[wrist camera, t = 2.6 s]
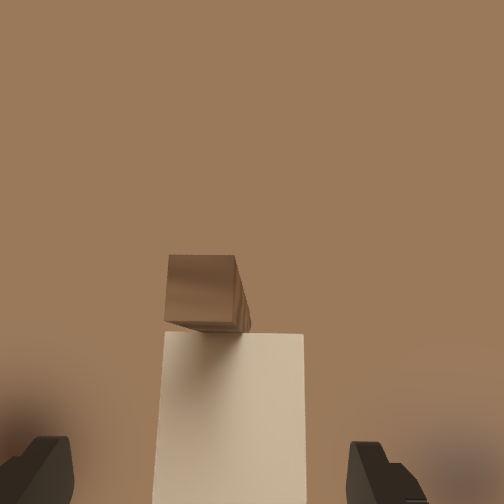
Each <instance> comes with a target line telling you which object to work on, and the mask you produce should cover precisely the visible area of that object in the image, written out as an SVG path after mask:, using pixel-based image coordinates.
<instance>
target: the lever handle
mask: <svg viewBox="0 0 504 504" xmlns="http://www.w3.org/2000/svg"><path fill="white" fill-rule="evenodd" d="M164 321H166V322H169V323H173V324H176V325H179V326H183V327H186V328H189V329H192V330H196V331H199V332H211V333H249V331H250V328H251V319H250V311H249V308H248V304H247V300H246V297H245V293H244V290H243V286H242V282H241V278H240V275H239V271H238V268H237V264H236V260H235V257H234V256H233V255H169V263H168V276H167V288H166V301H165V314H164Z"/></svg>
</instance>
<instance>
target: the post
mask: <svg viewBox="0 0 504 504" xmlns="http://www.w3.org/2000/svg"><path fill="white" fill-rule="evenodd" d="M304 392H305V390H304V339H303V334H266V333H211V332H165V342H164V355H163V367H162V380H161V393H160V406H159V420H158V433H157V445H156V459H155V471H154V484H153V497H152V504H307V501H306V500H307V496H306V447H305V445H306V443H305V393H304Z"/></svg>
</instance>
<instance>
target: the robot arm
mask: <svg viewBox="0 0 504 504" xmlns="http://www.w3.org/2000/svg"><path fill="white" fill-rule="evenodd" d="M73 489H74V473H73V465H72V457H71V450H70V442H69V439H68V438H67V437H66V436H38V437H36V438H35V439H34V440H33V441H32V442H31V444H30V445H29V446H28V448H27V449H26V450H25V452H24V453H23V454H22V456H21V457H15V456H14V457H12V458H11V459H9V460H8V461H7V462H5V463H4V464H3V465H1V466H0V504H69V503H70V501H71V498H72V494H73ZM346 496H347V504H429V503H427V499H426V497H425V495H424V493H423V491H422V489H421V487H420V485H419V483H418V481H417V479H416V478H415V477H414V476H413V475H412V474H411V473H410V472H409V471H408V470H407V469H406V468H405V467H404V466H403V465H402V464H401V463H389V461H388V459H387V457H386V455H385V452H384V451H383V448H382V446H381V444H380V443H379V442H357V441H356V442H355V441H353V442H351V444H350V452H349V461H348V472H347V480H346Z"/></svg>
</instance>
